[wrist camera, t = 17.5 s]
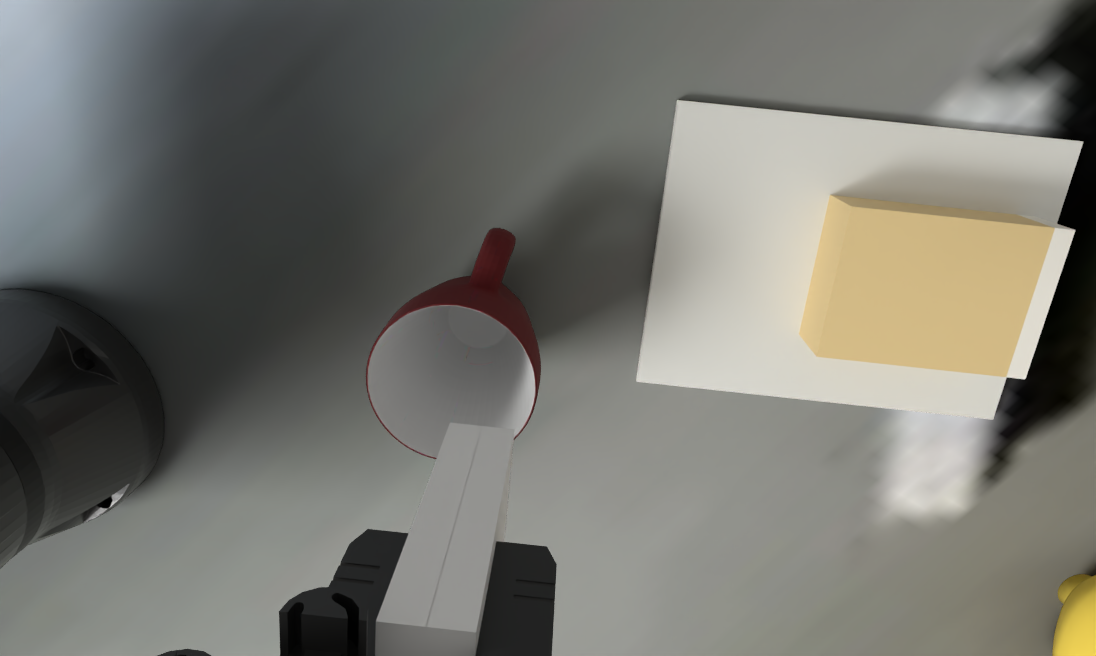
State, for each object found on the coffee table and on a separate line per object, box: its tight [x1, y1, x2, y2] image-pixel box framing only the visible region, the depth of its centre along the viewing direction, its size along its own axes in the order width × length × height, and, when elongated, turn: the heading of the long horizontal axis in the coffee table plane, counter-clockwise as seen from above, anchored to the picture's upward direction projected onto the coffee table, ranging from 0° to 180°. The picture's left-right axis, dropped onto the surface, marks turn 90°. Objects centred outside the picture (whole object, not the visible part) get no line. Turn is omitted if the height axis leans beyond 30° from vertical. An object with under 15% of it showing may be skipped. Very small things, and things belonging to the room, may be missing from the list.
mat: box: [636, 100, 1083, 420], centre depth 42 cm, size 21×16×1 cm
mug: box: [366, 228, 541, 459], centre depth 39 cm, size 10×8×10 cm
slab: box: [799, 195, 1075, 379], centre depth 40 cm, size 4×8×11 cm
